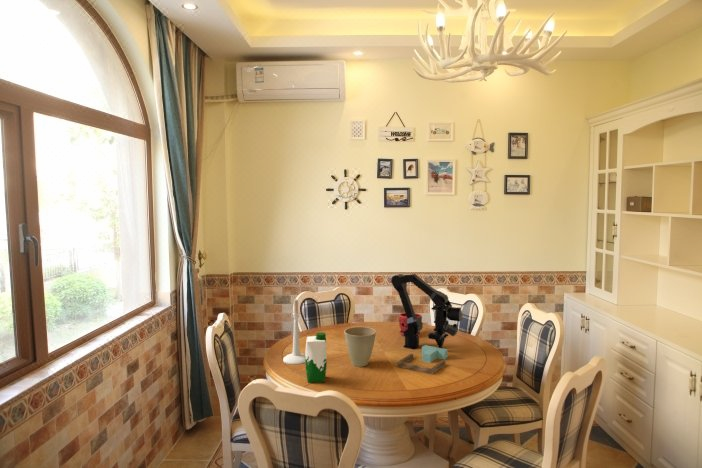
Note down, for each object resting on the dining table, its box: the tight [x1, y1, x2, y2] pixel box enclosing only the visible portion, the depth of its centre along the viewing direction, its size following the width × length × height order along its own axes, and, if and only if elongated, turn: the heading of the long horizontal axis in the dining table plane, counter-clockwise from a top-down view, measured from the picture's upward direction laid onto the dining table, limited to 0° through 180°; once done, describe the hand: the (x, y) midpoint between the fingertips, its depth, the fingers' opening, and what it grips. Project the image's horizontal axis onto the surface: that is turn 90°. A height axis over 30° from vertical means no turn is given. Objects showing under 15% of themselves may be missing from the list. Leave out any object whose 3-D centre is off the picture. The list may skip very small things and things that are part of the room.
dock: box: [396, 353, 446, 375], centre depth 210 cm, size 18×14×2 cm
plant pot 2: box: [398, 312, 423, 337], centre depth 259 cm, size 13×13×12 cm
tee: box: [421, 344, 448, 364], centre depth 220 cm, size 12×12×4 cm
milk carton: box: [304, 332, 328, 384], centre depth 193 cm, size 9×9×20 cm
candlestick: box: [282, 299, 305, 366], centre depth 217 cm, size 13×13×30 cm
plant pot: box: [343, 326, 377, 368], centre depth 212 cm, size 15×15×16 cm
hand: (440, 348), depth 230 cm, fingers closed
